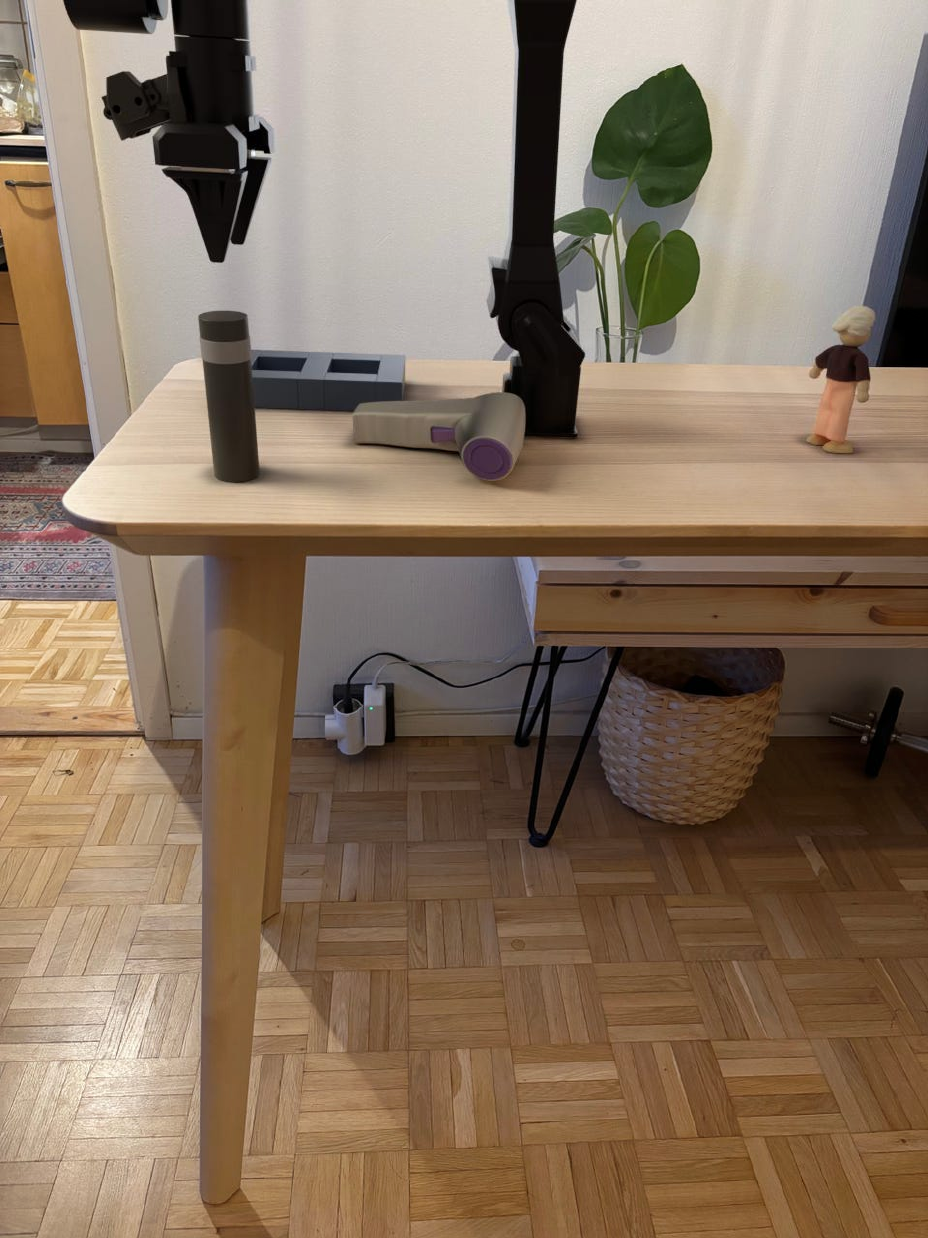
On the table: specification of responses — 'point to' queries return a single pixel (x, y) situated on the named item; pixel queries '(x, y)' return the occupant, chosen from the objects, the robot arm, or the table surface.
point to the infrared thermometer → (451, 429)
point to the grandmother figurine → (842, 379)
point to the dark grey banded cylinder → (229, 394)
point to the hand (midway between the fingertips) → (228, 252)
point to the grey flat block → (325, 379)
